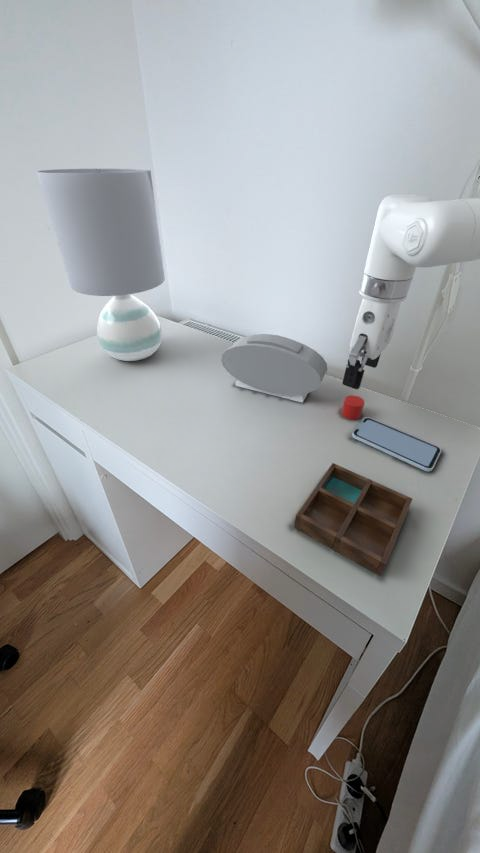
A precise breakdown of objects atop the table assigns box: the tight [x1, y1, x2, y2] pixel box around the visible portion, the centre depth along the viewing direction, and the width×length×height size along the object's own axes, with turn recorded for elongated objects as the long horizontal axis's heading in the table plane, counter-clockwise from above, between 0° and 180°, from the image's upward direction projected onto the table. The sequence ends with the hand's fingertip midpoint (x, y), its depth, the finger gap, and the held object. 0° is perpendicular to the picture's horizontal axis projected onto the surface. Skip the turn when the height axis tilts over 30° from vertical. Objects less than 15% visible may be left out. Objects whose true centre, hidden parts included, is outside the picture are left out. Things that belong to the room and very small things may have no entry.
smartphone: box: [351, 417, 442, 473], centre depth 64 cm, size 7×1×15 cm
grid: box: [293, 462, 413, 577], centre depth 51 cm, size 13×13×3 cm
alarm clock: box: [220, 333, 328, 403], centre depth 76 cm, size 23×6×13 cm, turn 65°
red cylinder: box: [341, 394, 365, 421], centre depth 71 cm, size 4×4×4 cm
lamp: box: [36, 167, 166, 362], centre depth 80 cm, size 22×22×40 cm
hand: (360, 375), depth 66 cm, fingers open, 9 cm apart
